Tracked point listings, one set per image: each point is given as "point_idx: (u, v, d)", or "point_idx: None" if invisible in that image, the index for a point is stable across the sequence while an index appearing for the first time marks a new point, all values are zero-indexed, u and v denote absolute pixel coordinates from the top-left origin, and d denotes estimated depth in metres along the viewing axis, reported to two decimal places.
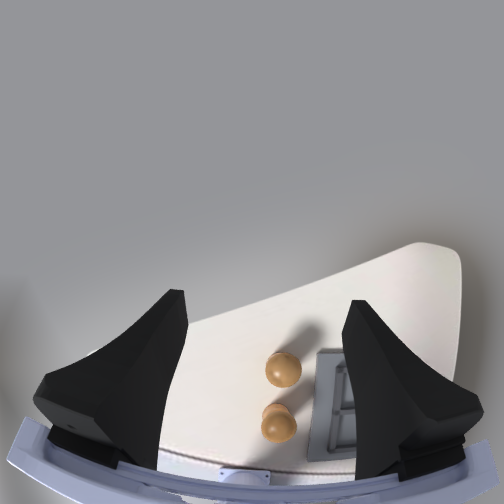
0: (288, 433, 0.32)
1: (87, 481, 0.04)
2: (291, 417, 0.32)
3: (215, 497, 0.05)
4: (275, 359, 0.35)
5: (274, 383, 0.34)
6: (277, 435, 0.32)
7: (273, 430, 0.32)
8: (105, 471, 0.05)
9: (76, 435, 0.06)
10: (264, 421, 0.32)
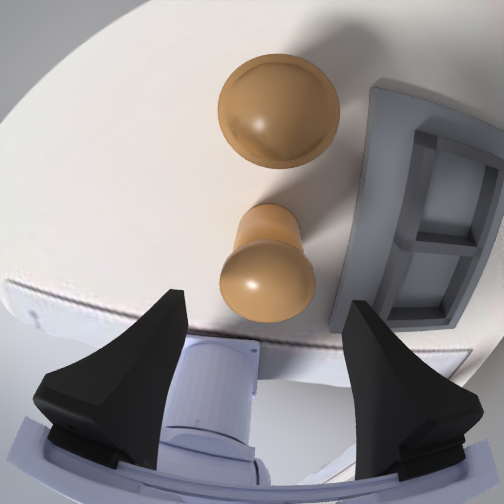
0: (291, 303, 0.14)
1: (87, 481, 0.04)
2: (302, 262, 0.13)
3: (215, 497, 0.05)
4: (249, 73, 0.09)
5: (248, 154, 0.11)
6: (262, 305, 0.14)
7: (253, 294, 0.14)
8: (105, 471, 0.05)
9: (76, 435, 0.06)
10: (226, 270, 0.13)
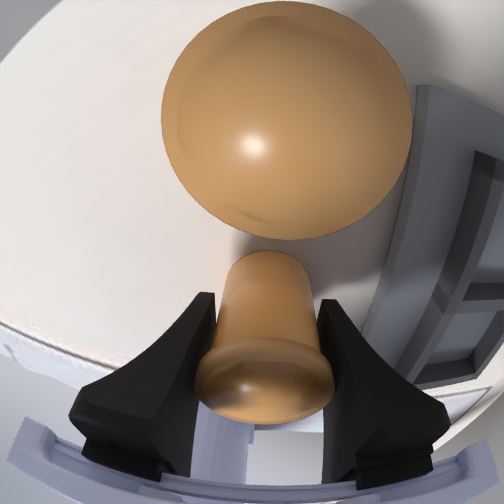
0: (298, 408, 0.09)
1: (87, 481, 0.04)
2: (318, 370, 0.08)
3: (215, 497, 0.05)
4: (226, 41, 0.04)
5: (227, 211, 0.05)
6: (256, 411, 0.09)
7: (243, 401, 0.09)
8: (105, 471, 0.05)
9: (115, 449, 0.06)
10: (202, 375, 0.08)
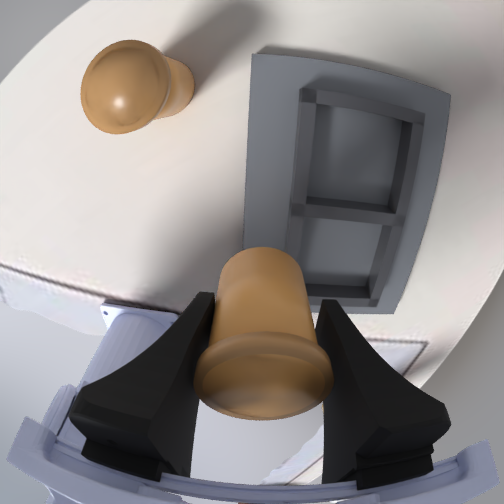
0: (299, 402, 0.09)
1: (87, 481, 0.04)
2: (317, 362, 0.08)
3: (215, 497, 0.05)
4: (100, 62, 0.09)
5: (101, 125, 0.11)
6: (257, 407, 0.09)
7: (243, 398, 0.09)
8: (105, 471, 0.05)
9: (114, 449, 0.06)
10: (201, 373, 0.08)
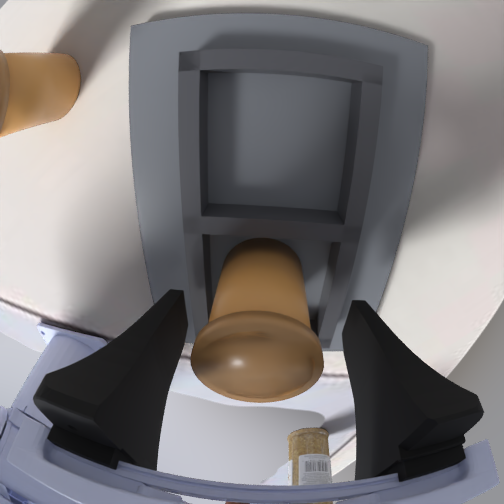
0: (290, 385, 0.10)
1: (87, 481, 0.04)
2: (306, 342, 0.08)
3: (215, 497, 0.05)
4: None
5: None
6: (250, 387, 0.10)
7: (237, 376, 0.10)
8: (105, 471, 0.05)
9: (76, 435, 0.06)
10: (197, 350, 0.09)
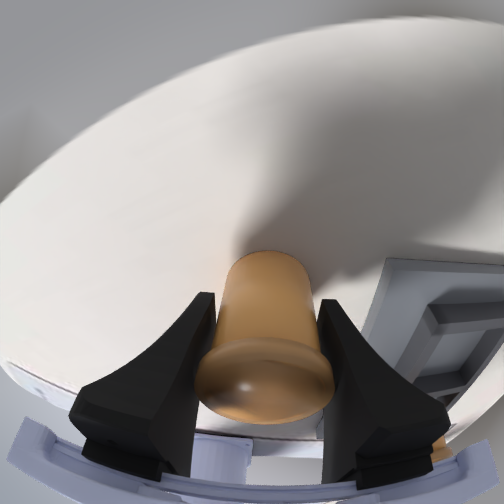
0: None
1: (87, 481, 0.04)
2: (450, 454, 0.12)
3: (215, 497, 0.05)
4: (227, 368, 0.08)
5: (232, 416, 0.09)
6: None
7: None
8: (105, 471, 0.05)
9: (115, 449, 0.06)
10: None
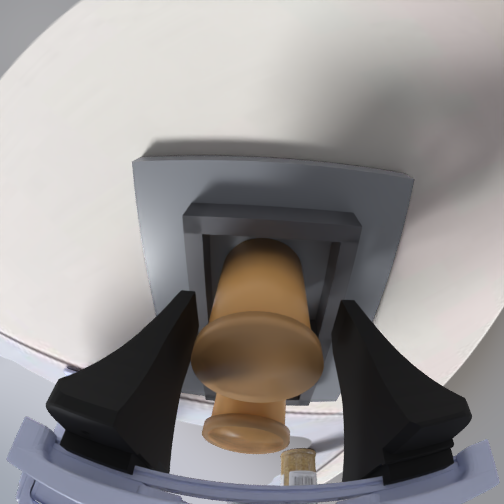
0: (270, 447, 0.13)
1: (87, 481, 0.04)
2: (272, 431, 0.12)
3: (215, 497, 0.05)
4: (221, 342, 0.09)
5: (228, 394, 0.10)
6: (244, 447, 0.13)
7: (233, 442, 0.13)
8: (105, 471, 0.05)
9: (90, 441, 0.06)
10: (205, 431, 0.12)
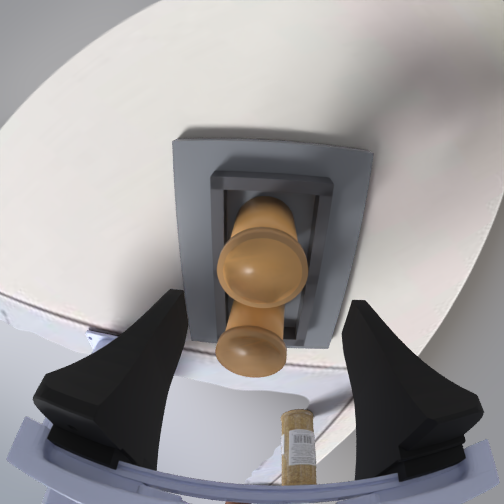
0: (272, 363, 0.18)
1: (87, 481, 0.04)
2: (267, 338, 0.17)
3: (215, 497, 0.05)
4: (239, 247, 0.14)
5: (241, 299, 0.15)
6: (252, 367, 0.18)
7: (242, 362, 0.18)
8: (105, 471, 0.05)
9: (76, 435, 0.06)
10: (217, 349, 0.18)
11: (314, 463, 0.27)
